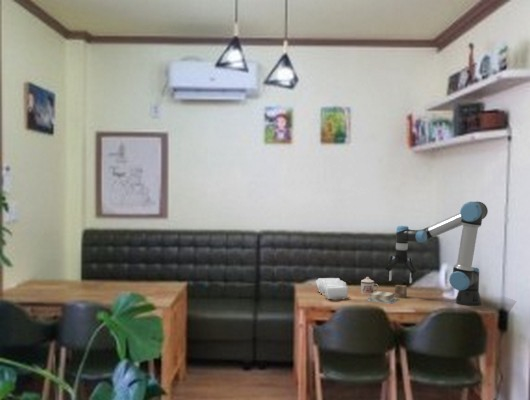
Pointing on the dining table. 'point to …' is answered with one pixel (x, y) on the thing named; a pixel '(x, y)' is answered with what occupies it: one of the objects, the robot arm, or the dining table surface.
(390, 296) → the riser block
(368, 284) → the teacup with lid
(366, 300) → the plan mat
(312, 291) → the dining table surface
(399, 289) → the walnut block
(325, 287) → the white wavy slab sculpture
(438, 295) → the dining table surface
